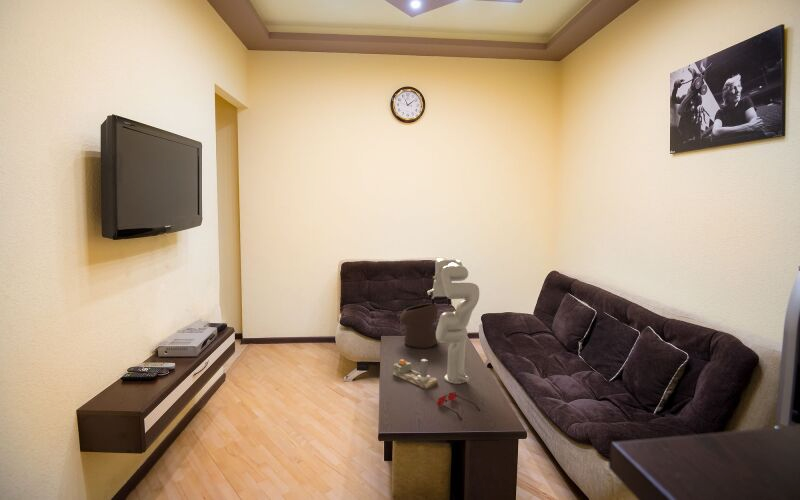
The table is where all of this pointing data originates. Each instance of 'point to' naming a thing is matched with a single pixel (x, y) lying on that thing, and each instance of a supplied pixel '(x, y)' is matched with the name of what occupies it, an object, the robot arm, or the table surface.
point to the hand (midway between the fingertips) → (440, 304)
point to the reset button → (402, 362)
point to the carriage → (423, 370)
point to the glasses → (451, 397)
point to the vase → (420, 325)
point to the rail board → (412, 375)
